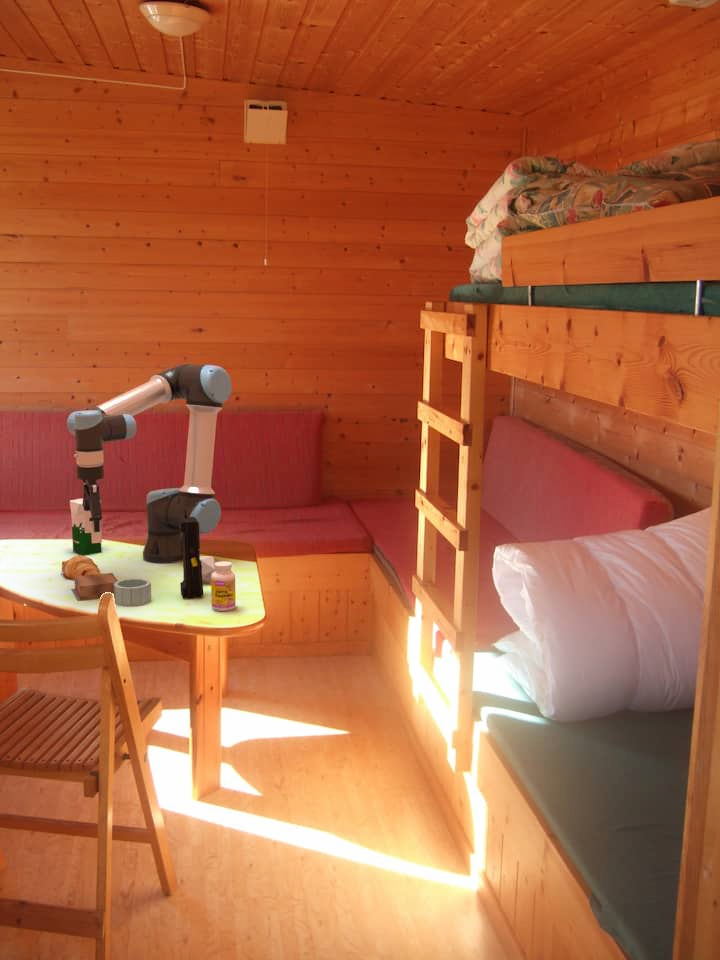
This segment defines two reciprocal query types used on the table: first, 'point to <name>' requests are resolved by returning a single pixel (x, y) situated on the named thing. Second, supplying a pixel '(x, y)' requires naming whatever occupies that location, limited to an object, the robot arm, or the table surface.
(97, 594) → the cover
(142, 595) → the bowl
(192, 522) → the portable radio
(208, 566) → the die
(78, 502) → the milk carton
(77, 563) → the croissant
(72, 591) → the mat
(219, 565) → the supplement bottle
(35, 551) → the table surface
